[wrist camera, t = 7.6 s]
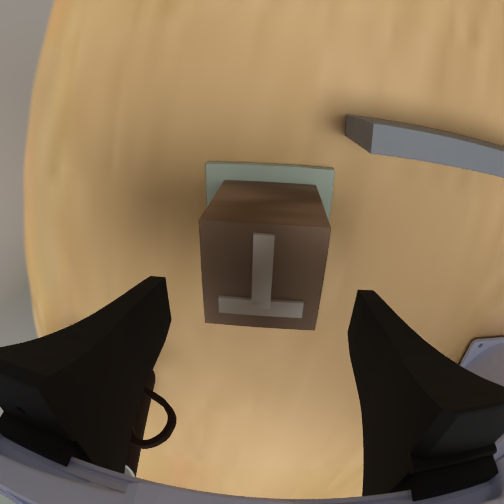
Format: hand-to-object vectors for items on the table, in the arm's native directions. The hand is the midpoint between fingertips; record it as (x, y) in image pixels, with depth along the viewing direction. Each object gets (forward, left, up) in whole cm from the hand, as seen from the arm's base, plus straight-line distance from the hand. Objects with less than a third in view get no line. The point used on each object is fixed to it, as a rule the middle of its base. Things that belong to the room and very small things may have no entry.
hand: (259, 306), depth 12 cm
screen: (-10, -6, -8) cm, 14 cm away
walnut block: (0, 0, -8) cm, 8 cm away
